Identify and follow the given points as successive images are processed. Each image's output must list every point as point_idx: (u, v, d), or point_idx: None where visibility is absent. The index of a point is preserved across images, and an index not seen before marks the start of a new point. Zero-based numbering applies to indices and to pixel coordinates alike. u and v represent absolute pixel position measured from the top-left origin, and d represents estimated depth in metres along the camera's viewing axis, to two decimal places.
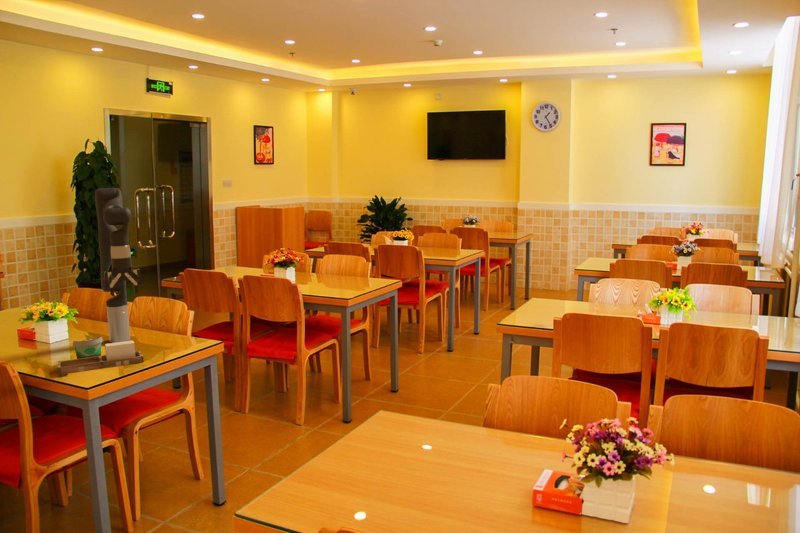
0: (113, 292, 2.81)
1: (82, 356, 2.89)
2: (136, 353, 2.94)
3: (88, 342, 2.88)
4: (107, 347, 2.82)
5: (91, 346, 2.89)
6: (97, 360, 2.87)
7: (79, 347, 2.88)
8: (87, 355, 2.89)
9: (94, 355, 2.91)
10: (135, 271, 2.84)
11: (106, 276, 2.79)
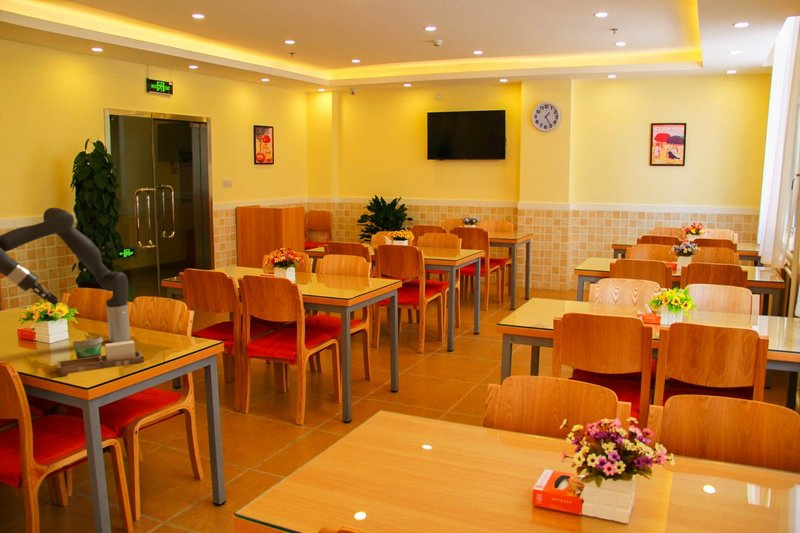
0: None
1: (82, 356, 2.89)
2: (136, 353, 2.94)
3: (88, 342, 2.88)
4: (107, 347, 2.82)
5: (91, 346, 2.89)
6: (97, 360, 2.87)
7: (79, 347, 2.88)
8: (87, 355, 2.89)
9: (94, 355, 2.91)
10: None
11: None
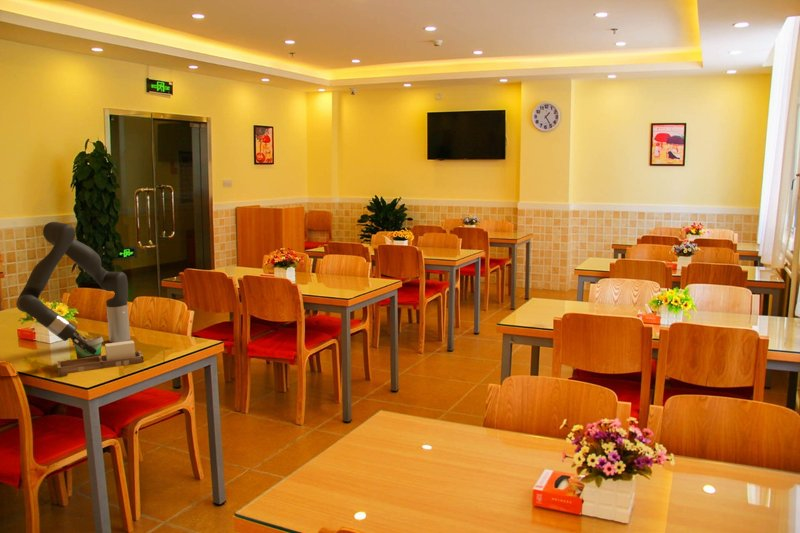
0: None
1: (82, 356, 2.89)
2: (136, 353, 2.94)
3: (88, 342, 2.88)
4: (107, 347, 2.82)
5: (91, 346, 2.89)
6: (97, 360, 2.87)
7: (79, 347, 2.88)
8: (87, 355, 2.89)
9: (94, 355, 2.91)
10: None
11: None
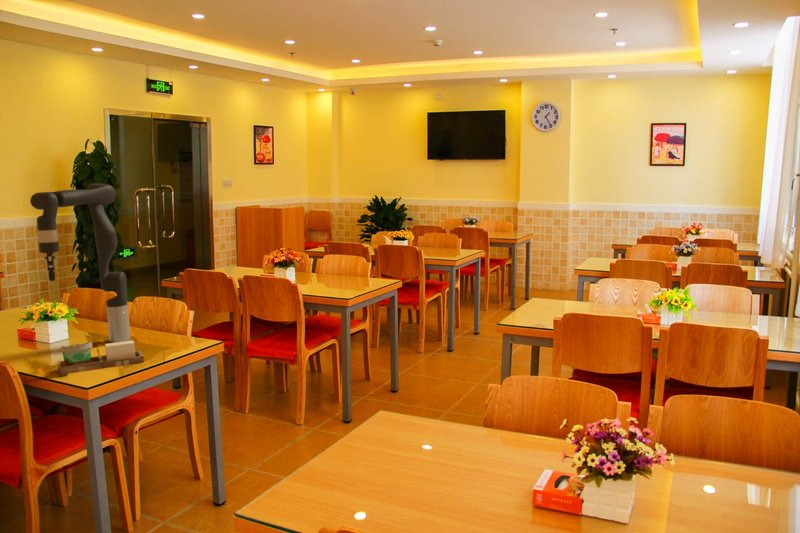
0: None
1: (70, 362, 2.76)
2: (136, 353, 2.94)
3: (76, 347, 2.76)
4: (107, 347, 2.82)
5: (79, 352, 2.77)
6: (97, 360, 2.87)
7: (67, 353, 2.76)
8: (75, 361, 2.77)
9: (83, 361, 2.78)
10: None
11: None
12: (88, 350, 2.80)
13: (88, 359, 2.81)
